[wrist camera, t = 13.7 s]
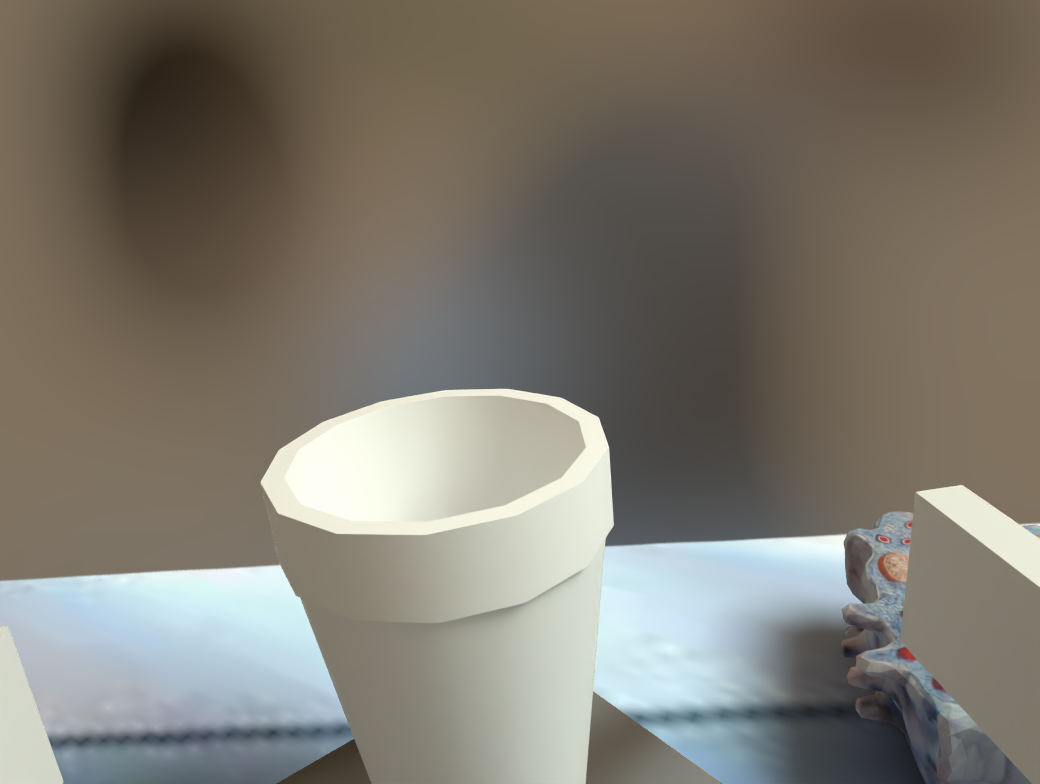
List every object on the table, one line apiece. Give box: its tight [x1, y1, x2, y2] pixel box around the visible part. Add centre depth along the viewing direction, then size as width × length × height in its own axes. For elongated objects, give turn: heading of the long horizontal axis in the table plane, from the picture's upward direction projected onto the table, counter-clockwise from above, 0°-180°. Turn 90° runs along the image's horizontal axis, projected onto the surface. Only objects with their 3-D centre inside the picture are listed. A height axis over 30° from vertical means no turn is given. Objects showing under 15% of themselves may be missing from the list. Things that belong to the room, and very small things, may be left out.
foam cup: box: [261, 389, 614, 784], centre depth 25 cm, size 10×9×13 cm
